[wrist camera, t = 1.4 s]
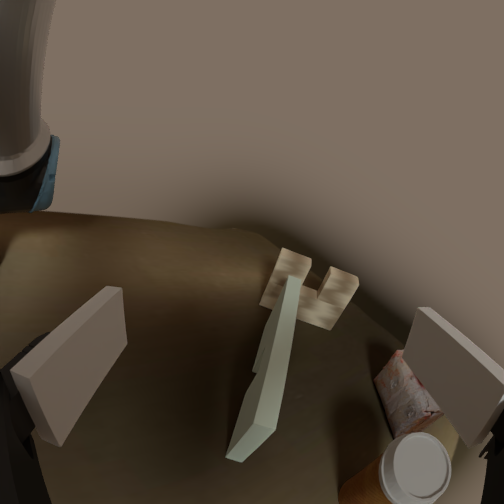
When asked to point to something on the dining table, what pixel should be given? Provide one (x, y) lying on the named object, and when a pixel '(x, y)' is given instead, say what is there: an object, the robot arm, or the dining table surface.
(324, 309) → the birch slotted plate
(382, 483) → the disposable coffee cup
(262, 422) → the sage slotted plate
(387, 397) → the food item
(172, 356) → the dining table surface
